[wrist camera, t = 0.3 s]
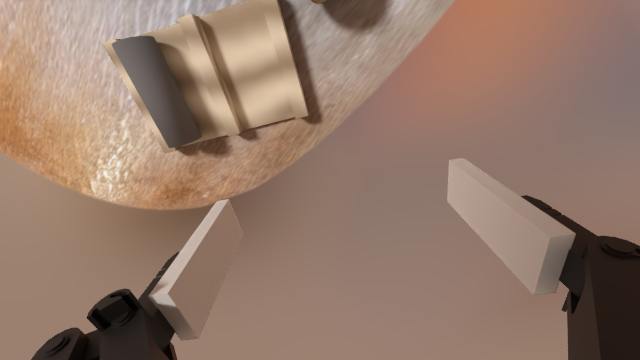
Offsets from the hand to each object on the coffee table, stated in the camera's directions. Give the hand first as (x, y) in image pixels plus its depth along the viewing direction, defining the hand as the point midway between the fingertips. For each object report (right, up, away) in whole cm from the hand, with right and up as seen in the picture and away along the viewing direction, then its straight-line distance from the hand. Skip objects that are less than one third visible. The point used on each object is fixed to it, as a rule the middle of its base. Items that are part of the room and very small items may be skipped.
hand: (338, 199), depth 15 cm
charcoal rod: (-24, +14, +22) cm, 36 cm away
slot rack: (-16, +16, +22) cm, 32 cm away
